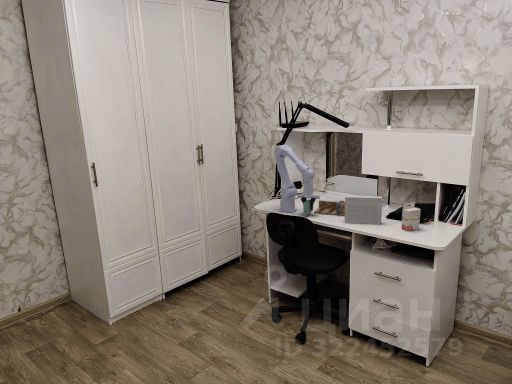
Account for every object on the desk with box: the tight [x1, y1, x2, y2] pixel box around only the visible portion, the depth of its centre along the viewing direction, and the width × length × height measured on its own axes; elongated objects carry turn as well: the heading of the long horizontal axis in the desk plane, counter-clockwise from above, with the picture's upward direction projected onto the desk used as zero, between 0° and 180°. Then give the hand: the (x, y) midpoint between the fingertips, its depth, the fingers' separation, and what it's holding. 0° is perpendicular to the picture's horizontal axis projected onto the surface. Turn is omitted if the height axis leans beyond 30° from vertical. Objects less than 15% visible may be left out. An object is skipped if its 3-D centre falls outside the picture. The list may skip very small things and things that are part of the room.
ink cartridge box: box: [401, 201, 421, 232], centre depth 222 cm, size 9×5×15 cm, turn 112°
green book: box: [302, 198, 314, 215], centre depth 255 cm, size 4×9×7 cm, turn 154°
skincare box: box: [344, 195, 383, 225], centre depth 237 cm, size 21×6×16 cm, turn 74°
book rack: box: [313, 199, 345, 217], centre depth 259 cm, size 20×11×8 cm, turn 64°
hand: (308, 209), depth 256 cm, fingers closed on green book, 3 cm apart
